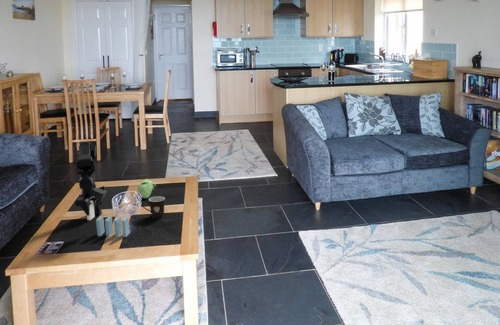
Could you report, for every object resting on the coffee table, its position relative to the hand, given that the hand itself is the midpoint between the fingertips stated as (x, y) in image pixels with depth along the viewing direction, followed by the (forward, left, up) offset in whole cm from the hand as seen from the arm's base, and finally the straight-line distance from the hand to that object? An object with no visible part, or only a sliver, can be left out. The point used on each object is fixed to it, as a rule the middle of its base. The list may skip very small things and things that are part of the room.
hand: (90, 213), depth 224 cm
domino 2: (+5, 0, -11) cm, 12 cm away
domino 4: (+14, 0, -11) cm, 17 cm away
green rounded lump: (+11, +56, -11) cm, 58 cm away
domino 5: (+18, 0, -11) cm, 21 cm away
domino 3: (+9, 0, -11) cm, 14 cm away
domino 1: (0, 0, -2) cm, 3 cm away
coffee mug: (+25, +26, -11) cm, 37 cm away
